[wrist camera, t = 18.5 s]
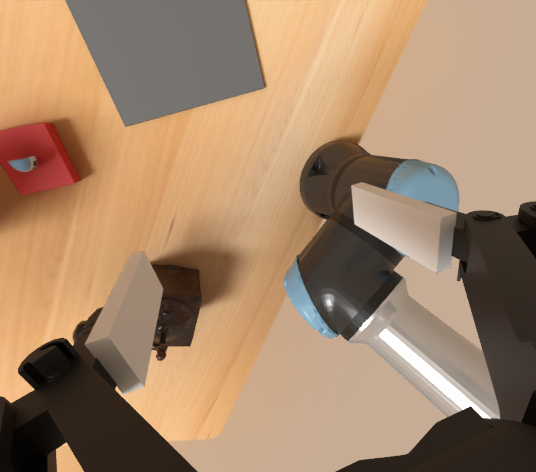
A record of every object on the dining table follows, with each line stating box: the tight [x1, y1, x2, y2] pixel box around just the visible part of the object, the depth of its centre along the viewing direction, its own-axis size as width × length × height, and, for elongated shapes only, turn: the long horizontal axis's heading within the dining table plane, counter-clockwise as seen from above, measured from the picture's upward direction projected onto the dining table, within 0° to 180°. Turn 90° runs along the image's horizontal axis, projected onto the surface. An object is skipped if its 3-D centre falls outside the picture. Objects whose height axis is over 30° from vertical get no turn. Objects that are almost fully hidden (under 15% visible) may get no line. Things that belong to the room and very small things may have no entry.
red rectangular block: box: [0, 123, 81, 195], centre depth 33 cm, size 8×7×6 cm
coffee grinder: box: [73, 265, 201, 361], centre depth 40 cm, size 16×11×18 cm
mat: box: [66, 0, 265, 127], centre depth 34 cm, size 22×22×1 cm
